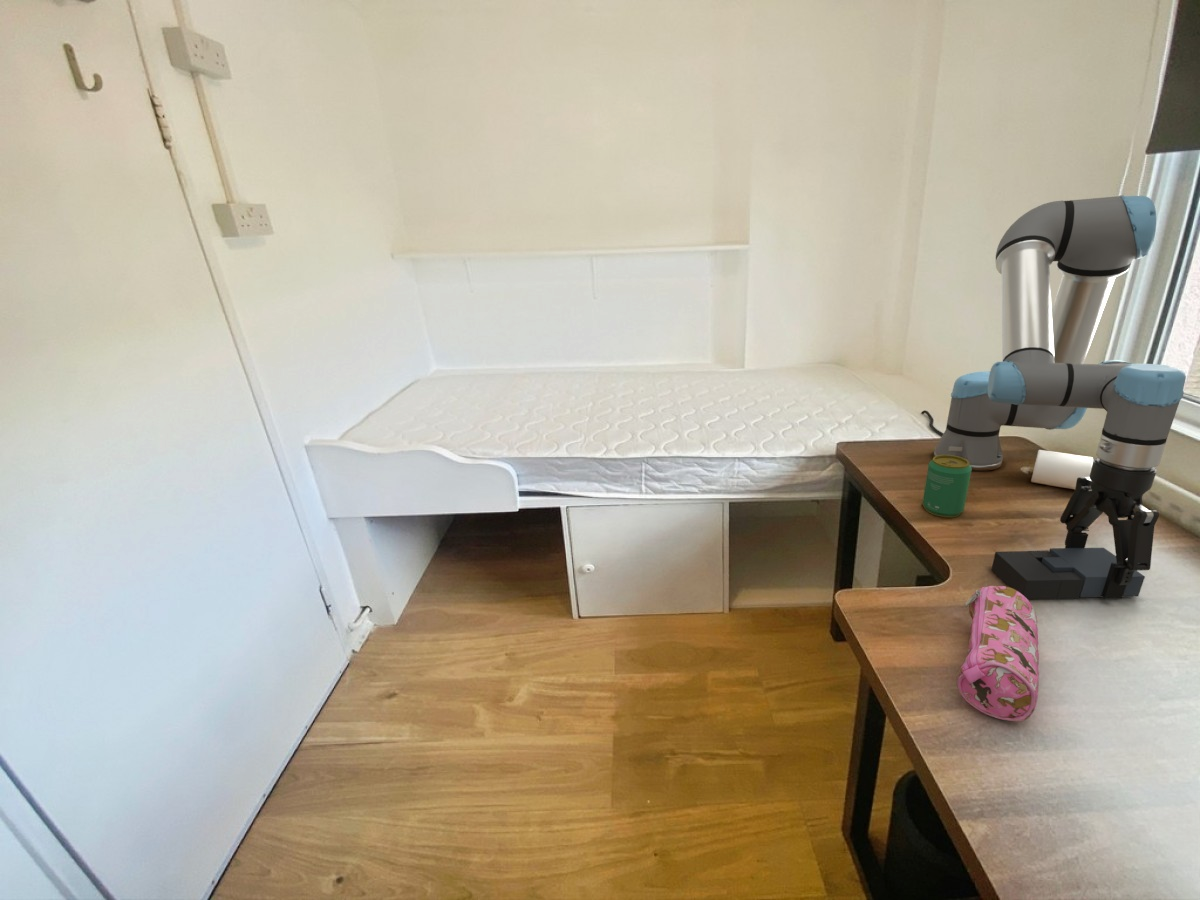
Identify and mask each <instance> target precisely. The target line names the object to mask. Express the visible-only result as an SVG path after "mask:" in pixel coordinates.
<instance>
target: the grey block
mask: <svg viewBox="0 0 1200 900" xmlns="http://www.w3.org/2000/svg"><path fill="white" fill-rule="evenodd" d="M1048 551H1049V552H1050V553H1052V554H1053V555H1054V556H1055V557H1043V558H1042V562H1041V563H1042V564H1043V565H1044V566H1046V567H1047V568H1048V569H1049V570H1050V571H1051V572H1053V573H1055V572H1075V573H1077V574H1078V575H1079V576H1080V577H1082V578H1083V579H1084V582H1083V585H1082V589H1081V592H1080V595H1079V598H1087V597H1088V598H1097V597H1098V598H1103V597H1102V596H1101V595H1102V592H1103V589H1104V585H1105V582H1106V579H1107V576H1108V572H1109V569H1110V566H1111V563H1117V560H1116V554H1114V553H1113V552H1110V550H1108V549H1106V548H1105V547H1085V548H1065V547H1052V548H1051V547H1049V550H1048ZM1145 578H1146V575H1143V574H1142V573H1141V572H1139V570H1137V571H1134V573H1133V576H1132V579H1131V582H1130V584H1129V585H1126V588H1125V591H1124V594H1123V597H1122V598H1124V597H1125V598H1127V597H1130V598H1131V597H1135V598H1136V597H1139V595H1140V592H1141V589H1142V587H1143V584H1144V582H1145Z"/></svg>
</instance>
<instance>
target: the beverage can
mask: <svg viewBox="0 0 1200 900" xmlns="http://www.w3.org/2000/svg"><path fill="white" fill-rule="evenodd" d="M927 466H928V467H927V473H926V478H925V485H924V491H923V496H922V497H923V498H922V506H923V509H924V510H925V511H926V512H927V513H929V514H931V515H933V516H937V517H940V518H957V517H959V516H960V515H961V514H962V513H963V512H964V510H965V507H966V502H967V496H968V491H969V485H970V481H971V475H972V472H973V470H972V468H971V466H970V465H969V461H968V460H966V459H964V458H962V457H958V456H953V455H937V456H935V457H934V456H933V457H932V458H931V460H930V461H929V462H928V465H927Z"/></svg>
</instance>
